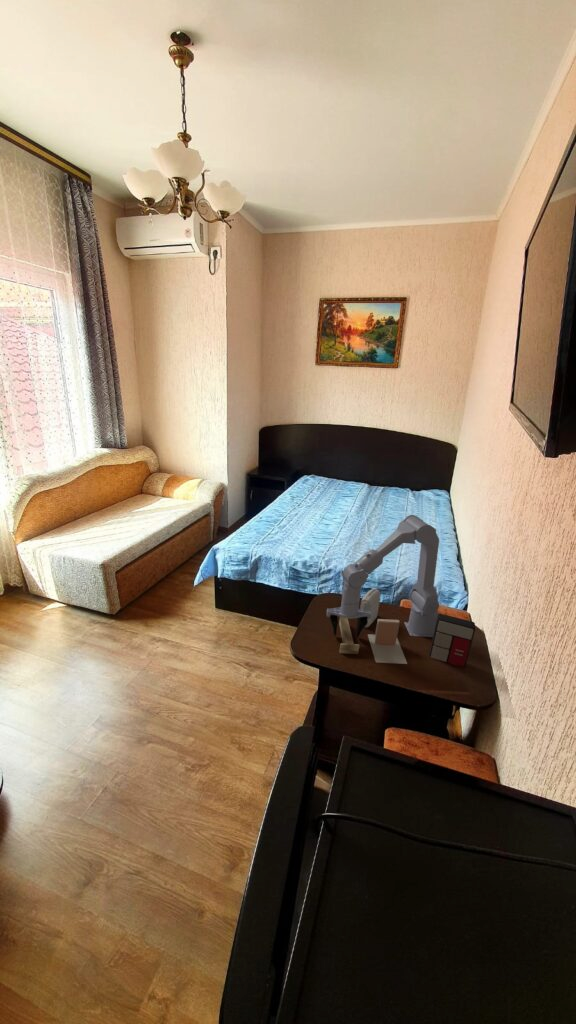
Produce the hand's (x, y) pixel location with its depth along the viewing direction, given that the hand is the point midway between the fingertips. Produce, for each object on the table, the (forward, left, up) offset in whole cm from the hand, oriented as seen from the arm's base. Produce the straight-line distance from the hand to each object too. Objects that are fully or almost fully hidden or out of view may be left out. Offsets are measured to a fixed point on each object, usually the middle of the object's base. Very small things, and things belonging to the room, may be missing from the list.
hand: (345, 634), depth 137 cm
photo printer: (-10, -11, -2) cm, 15 cm away
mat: (-13, +4, -2) cm, 14 cm away
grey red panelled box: (-32, +8, -2) cm, 33 cm away
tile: (-13, +2, -1) cm, 13 cm away
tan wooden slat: (0, 0, -2) cm, 2 cm away
